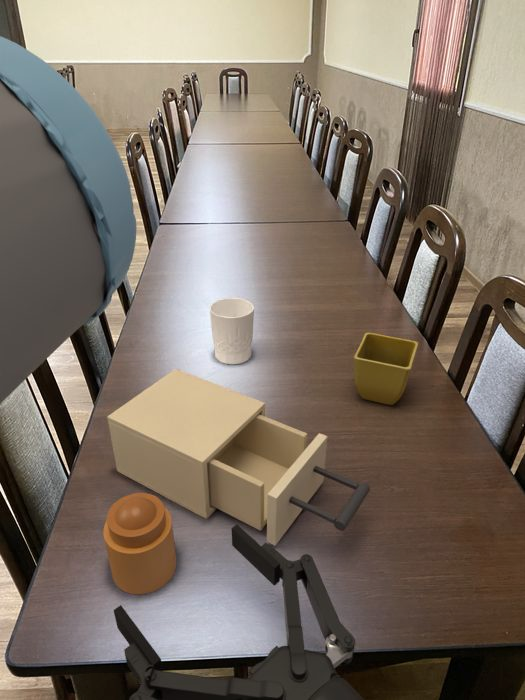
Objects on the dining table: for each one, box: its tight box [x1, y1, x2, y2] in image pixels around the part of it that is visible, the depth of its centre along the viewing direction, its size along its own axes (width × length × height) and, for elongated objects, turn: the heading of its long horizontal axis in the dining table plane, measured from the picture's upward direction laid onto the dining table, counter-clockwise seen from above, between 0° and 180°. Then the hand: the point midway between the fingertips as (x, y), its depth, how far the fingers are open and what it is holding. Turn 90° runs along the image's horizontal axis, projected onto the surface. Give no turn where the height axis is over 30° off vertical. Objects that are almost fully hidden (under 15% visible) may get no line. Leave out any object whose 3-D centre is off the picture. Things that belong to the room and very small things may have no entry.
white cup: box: [209, 297, 255, 365], centre depth 98 cm, size 8×8×10 cm
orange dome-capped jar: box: [102, 492, 177, 596], centre depth 59 cm, size 7×7×10 cm
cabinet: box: [106, 368, 266, 520], centre depth 73 cm, size 16×14×10 cm
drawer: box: [207, 414, 371, 547], centre depth 67 cm, size 22×12×8 cm, turn 58°
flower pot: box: [353, 332, 419, 406], centre depth 88 cm, size 9×9×9 cm
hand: (180, 572), depth 53 cm, fingers open, 13 cm apart
